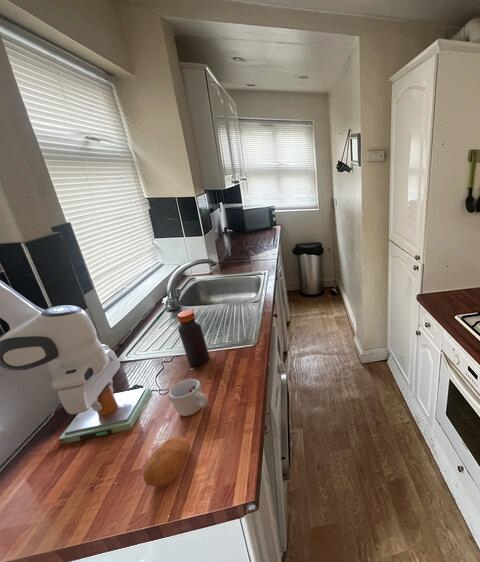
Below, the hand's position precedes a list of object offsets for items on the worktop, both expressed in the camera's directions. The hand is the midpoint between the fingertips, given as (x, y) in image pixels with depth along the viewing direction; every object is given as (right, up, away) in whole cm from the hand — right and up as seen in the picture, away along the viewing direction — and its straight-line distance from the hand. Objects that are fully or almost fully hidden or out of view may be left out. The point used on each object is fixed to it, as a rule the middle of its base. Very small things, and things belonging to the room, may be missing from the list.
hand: (104, 401), depth 88 cm
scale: (0, -5, +2) cm, 5 cm away
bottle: (+13, +5, +25) cm, 29 cm away
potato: (+29, -11, -14) cm, 34 cm away
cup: (+24, -4, +3) cm, 25 cm away
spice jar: (0, -3, +1) cm, 3 cm away
